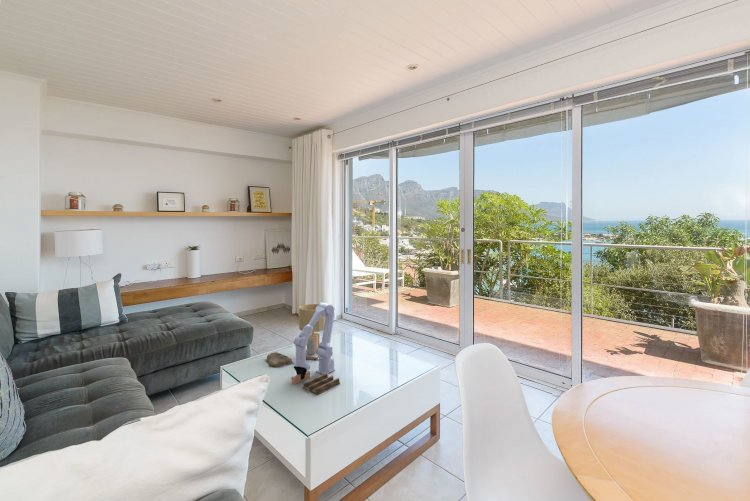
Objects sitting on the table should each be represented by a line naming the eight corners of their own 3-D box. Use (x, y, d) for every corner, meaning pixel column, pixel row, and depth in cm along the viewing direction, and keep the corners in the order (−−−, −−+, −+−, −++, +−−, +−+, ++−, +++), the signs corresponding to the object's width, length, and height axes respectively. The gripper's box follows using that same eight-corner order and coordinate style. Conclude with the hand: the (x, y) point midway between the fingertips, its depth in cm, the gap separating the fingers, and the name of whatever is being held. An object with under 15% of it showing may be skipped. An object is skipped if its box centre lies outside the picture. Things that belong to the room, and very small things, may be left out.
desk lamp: (305, 349, 262) (305, 303, 259) (330, 351, 258) (330, 304, 255) (294, 359, 243) (294, 309, 240) (321, 362, 239) (321, 311, 236)
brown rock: (262, 359, 243) (273, 368, 227) (262, 352, 243) (273, 361, 227) (281, 355, 251) (293, 364, 236) (281, 349, 251) (293, 357, 235)
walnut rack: (326, 378, 214) (326, 373, 214) (339, 383, 207) (340, 378, 206) (302, 388, 200) (302, 383, 200) (316, 395, 193) (316, 389, 193)
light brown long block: (307, 376, 216) (307, 370, 216) (310, 378, 215) (310, 371, 214) (291, 383, 207) (291, 377, 207) (294, 384, 205) (294, 378, 205)
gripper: (287, 355, 211) (288, 376, 212) (303, 361, 202) (303, 384, 203) (297, 351, 217) (297, 373, 218) (312, 357, 207) (312, 379, 208)
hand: (301, 378), depth 211 cm, fingers open, 3 cm apart
